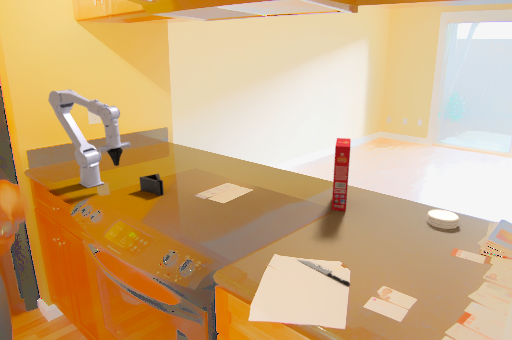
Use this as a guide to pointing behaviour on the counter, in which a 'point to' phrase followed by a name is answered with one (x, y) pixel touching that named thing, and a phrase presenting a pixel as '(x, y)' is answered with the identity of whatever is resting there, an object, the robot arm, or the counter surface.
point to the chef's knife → (324, 271)
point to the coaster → (443, 219)
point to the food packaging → (341, 174)
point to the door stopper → (152, 184)
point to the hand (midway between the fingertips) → (116, 165)
